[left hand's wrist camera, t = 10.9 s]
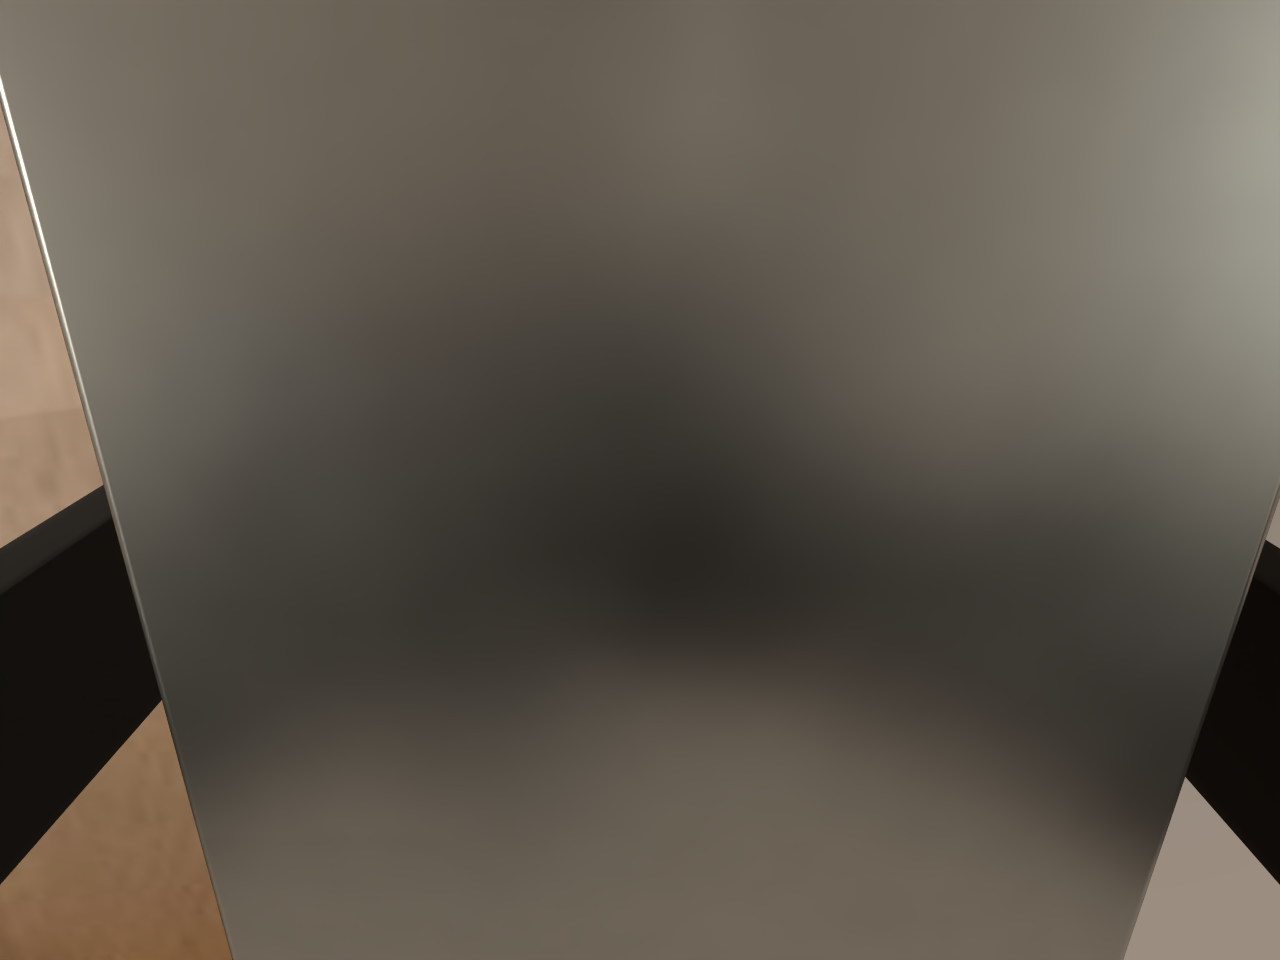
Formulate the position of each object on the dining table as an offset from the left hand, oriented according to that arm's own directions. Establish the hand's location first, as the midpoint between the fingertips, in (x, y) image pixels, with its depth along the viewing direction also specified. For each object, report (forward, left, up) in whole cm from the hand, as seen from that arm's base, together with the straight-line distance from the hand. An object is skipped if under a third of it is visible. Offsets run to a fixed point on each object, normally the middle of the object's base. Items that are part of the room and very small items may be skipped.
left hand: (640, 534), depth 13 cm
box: (+7, +4, -3) cm, 8 cm away
